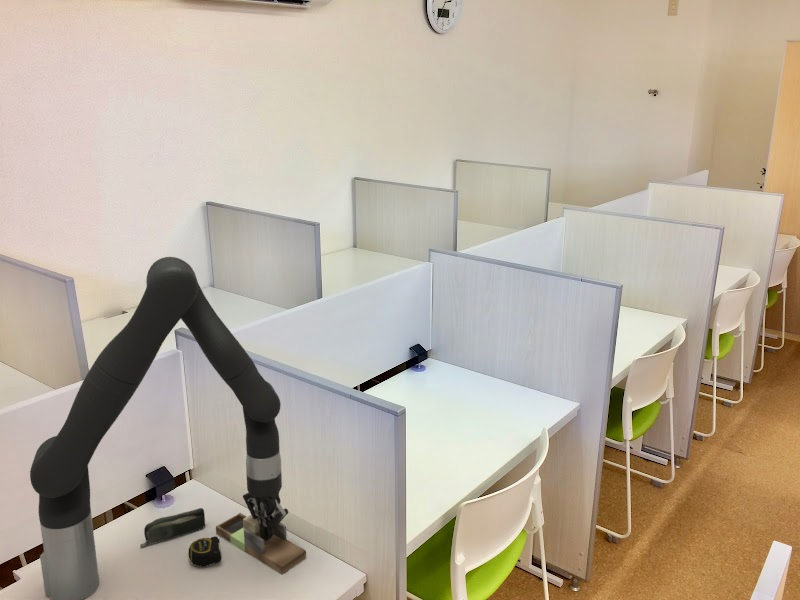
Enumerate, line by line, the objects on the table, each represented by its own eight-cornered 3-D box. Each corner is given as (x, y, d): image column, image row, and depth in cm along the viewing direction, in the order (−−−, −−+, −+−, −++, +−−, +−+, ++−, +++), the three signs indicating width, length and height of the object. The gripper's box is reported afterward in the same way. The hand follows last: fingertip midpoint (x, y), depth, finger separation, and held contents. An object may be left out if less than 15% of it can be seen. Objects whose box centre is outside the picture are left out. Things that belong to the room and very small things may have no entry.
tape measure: (222, 566, 148) (221, 552, 147) (189, 572, 146) (188, 557, 145) (220, 547, 155) (219, 533, 153) (188, 553, 152) (187, 538, 151)
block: (268, 532, 157) (268, 517, 156) (255, 541, 154) (254, 525, 153) (257, 526, 159) (256, 511, 158) (243, 534, 156) (242, 519, 155)
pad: (269, 536, 159) (268, 529, 158) (244, 551, 153) (244, 544, 153) (254, 528, 162) (254, 521, 161) (230, 542, 156) (230, 535, 156)
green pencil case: (201, 504, 162) (136, 523, 154) (206, 511, 160) (140, 530, 151) (202, 523, 164) (137, 543, 155) (207, 529, 161) (141, 550, 153)
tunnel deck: (306, 558, 152) (305, 536, 150) (282, 574, 146) (281, 552, 145) (240, 520, 165) (239, 500, 163) (216, 533, 159) (215, 513, 158)
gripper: (230, 466, 149) (234, 534, 154) (271, 487, 142) (273, 558, 146) (257, 453, 155) (259, 519, 160) (297, 473, 147) (299, 541, 152)
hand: (266, 538), depth 153 cm, fingers closed
